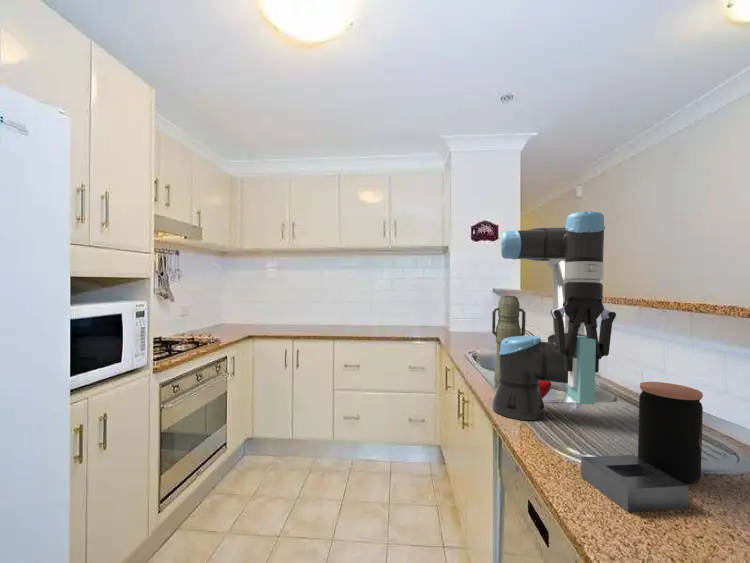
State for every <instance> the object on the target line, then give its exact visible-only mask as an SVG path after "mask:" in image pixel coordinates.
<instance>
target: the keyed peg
mask: <svg viewBox="0 0 750 563" xmlns="http://www.w3.org/2000/svg"><path fill="white" fill-rule="evenodd" d="M595 354H596V339H592V338H588V337H585V336H577V341H576V347H575V352H574V356H573V357H576V358H577V388H573V387H572V386H570V385H568V384H567V396H568V397H569V398H570V399H572V400H573V401H575V402H576V403H578V404H580V405H592V406H593V405H595V395H596V394H595V392H596V391H595V389H596V388H595V387H596V373H595Z"/></svg>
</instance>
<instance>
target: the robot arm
mask: <svg viewBox="0 0 750 563" xmlns="http://www.w3.org/2000/svg"><path fill="white" fill-rule="evenodd" d="M565 223H566V225H565V227H536V228H531V229H524V230H523V229H522V230H521V229H519V230H517V229H513V230H506V231H505V230H504V231H503V232H502V234H501V238H500V240H501V244H500V250H501V251H500V252H501V254H500V255H501V257H502V258H503V259H505V260H507V259H508V260H509V259H510V260H528V261H533V262H534V261H536V262H537V261H538V262H539V261H540V262H547V266H548V267H549V268H550V269H551V270H552V309H551V310H550V314H551V316H552V325H553V326H552V330H553V331H552V333H551V334H549V335H548V336H547V341H542V339H541V337H540V336H538V335H525V336H514V337H508V338H505V339H503V340H502V341H501V345H500V352H499V355H500V371H499V386H498V389H496V392H495V394H494V397H493V399H492V410H493V412H495V413H497V414H498V415H501V416H502V417H503V416H504V417H506V418H509V419H515V420H521V421H537V420H541V419H543V418H545V417H546V408H545V403H544V400H543V399H542V397H541V394H540V390H539V381H540V380H541V381H550V382H551V383H559V384H561V383H562V384H567V386H568V385H570V386H572V387H573V388H577V358H576V357H573V356H574V352H575V347H576V341H577V336H585V337H588V338H592V339H596V354H595V374H596V373H598V374H599V370H600V360H601V359H602V358H603V357H607V356H609V354H610V344H611V338H612V329H613V323H614V321H615V319H616V317H617V313H616V312H614V311H610V310H607V308H606V309H605V307H604V306H605V305H604V304H603V298H604V293H603V292H604V284H603V282H600V281H603V279H604V246H605V245H604V243H605V241H604V240H605V229H606V226H605V217H604V214H603V213H602V212H599V211H577V212H573V213H571V214H569V215H568V216H567V217H566V222H565ZM599 317H600V318H601V321H600V325H599V326H600V328H599V333H598V330H597V327H598V322H597V319H598V318H599ZM585 331H586V332H585ZM585 333H586V334H585ZM598 334H599V336H598Z"/></svg>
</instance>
